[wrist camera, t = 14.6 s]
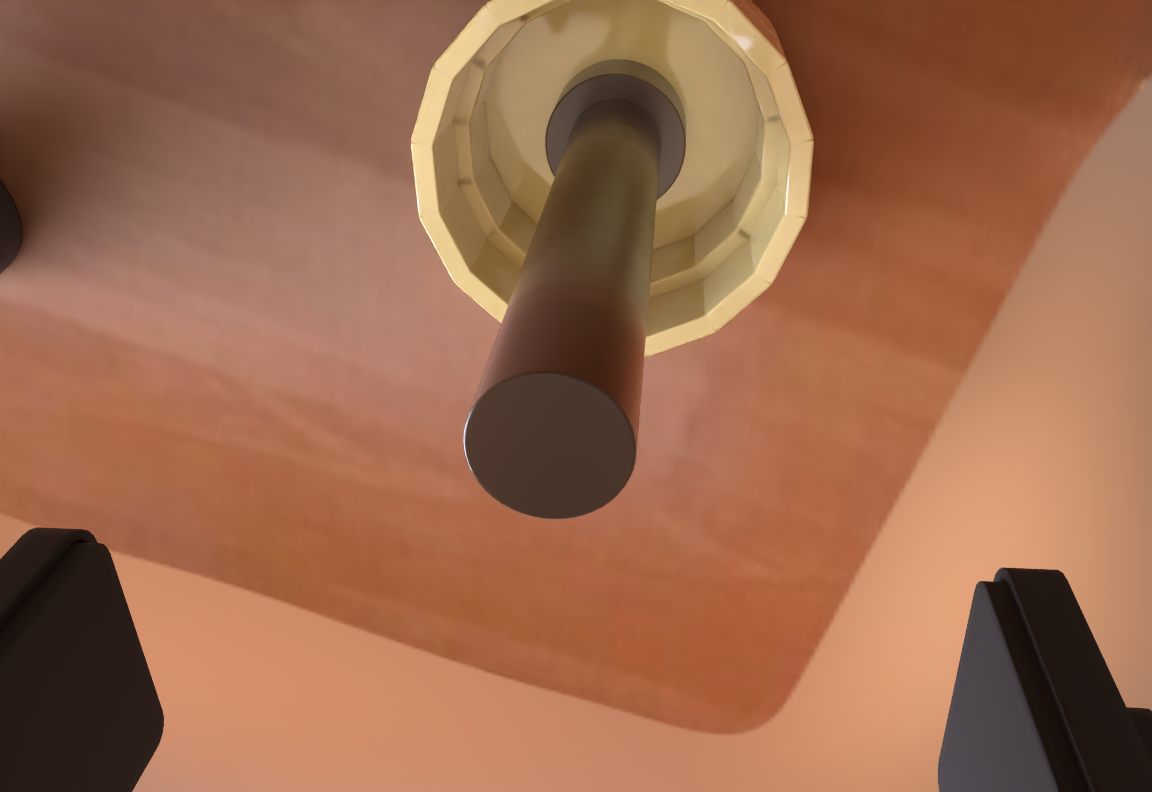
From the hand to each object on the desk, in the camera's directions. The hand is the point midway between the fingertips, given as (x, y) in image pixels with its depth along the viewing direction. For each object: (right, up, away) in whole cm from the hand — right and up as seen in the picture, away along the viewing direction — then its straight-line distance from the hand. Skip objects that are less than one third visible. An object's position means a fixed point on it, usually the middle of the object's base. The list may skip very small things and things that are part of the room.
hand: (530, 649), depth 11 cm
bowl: (+2, +11, +20) cm, 23 cm away
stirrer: (+2, +11, +20) cm, 23 cm away
